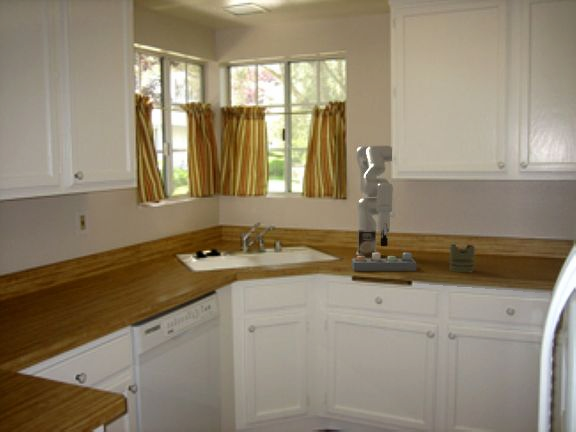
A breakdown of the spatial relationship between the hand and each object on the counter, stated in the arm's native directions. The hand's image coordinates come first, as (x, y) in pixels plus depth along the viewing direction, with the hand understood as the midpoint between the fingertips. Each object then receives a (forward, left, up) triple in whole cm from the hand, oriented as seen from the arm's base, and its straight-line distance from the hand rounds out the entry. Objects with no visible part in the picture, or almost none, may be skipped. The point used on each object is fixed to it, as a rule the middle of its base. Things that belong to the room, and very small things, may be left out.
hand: (383, 246), depth 304 cm
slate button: (0, +11, -8) cm, 14 cm away
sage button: (0, +4, -9) cm, 10 cm away
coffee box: (-20, -6, -11) cm, 24 cm away
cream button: (0, -4, -8) cm, 9 cm away
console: (0, 0, -11) cm, 11 cm away
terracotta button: (0, -11, -9) cm, 15 cm away
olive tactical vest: (+5, +37, -11) cm, 39 cm away
